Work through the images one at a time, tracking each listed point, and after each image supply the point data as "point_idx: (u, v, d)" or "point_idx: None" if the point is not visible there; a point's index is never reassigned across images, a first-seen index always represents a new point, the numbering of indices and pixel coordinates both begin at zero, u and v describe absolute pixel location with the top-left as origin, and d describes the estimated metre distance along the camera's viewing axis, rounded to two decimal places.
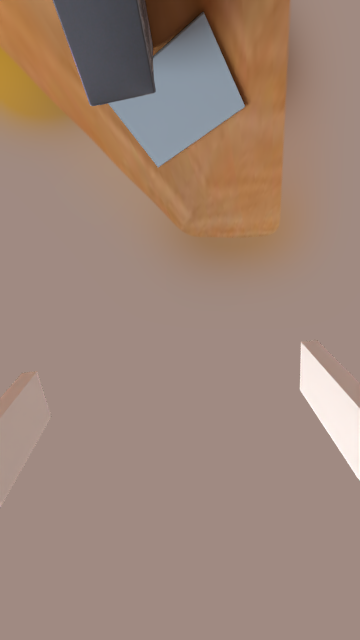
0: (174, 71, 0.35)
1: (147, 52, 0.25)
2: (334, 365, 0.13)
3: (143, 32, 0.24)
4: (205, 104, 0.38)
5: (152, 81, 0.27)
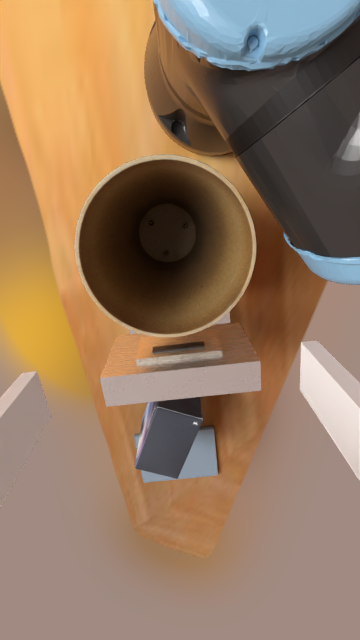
0: None
1: None
2: (334, 365, 0.13)
3: None
4: (194, 464, 0.54)
5: (179, 474, 0.42)
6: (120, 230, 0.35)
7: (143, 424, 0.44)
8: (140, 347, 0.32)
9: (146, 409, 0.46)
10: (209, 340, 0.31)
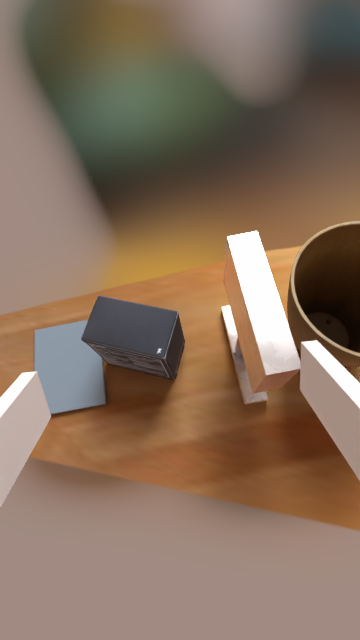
0: (87, 371, 0.45)
1: (103, 344, 0.36)
2: (334, 365, 0.13)
3: (113, 346, 0.36)
4: (54, 385, 0.45)
5: (87, 340, 0.37)
6: (331, 286, 0.42)
7: None
8: None
9: None
10: None
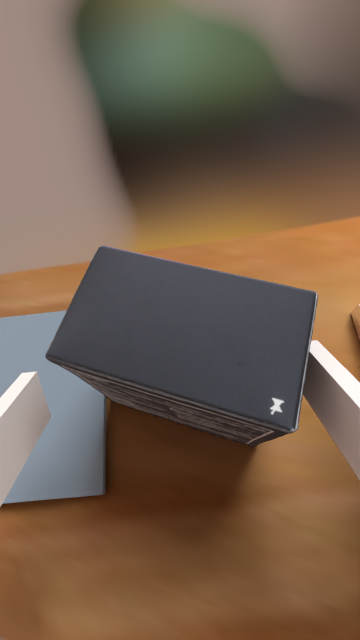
0: (71, 414, 0.22)
1: (107, 375, 0.13)
2: (334, 365, 0.13)
3: (136, 384, 0.12)
4: None
5: (63, 360, 0.13)
6: None
7: None
8: None
9: None
10: None
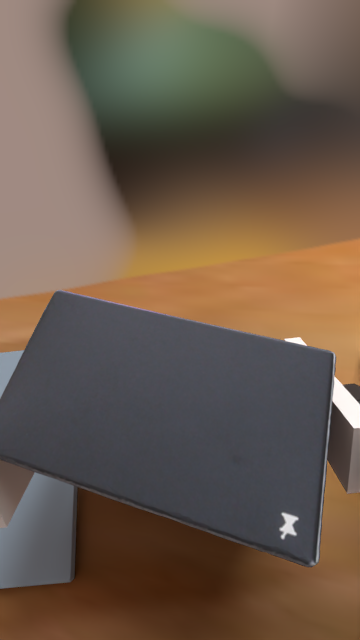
0: (36, 478, 0.18)
1: (57, 477, 0.09)
2: None
3: (95, 490, 0.09)
4: None
5: None
6: None
7: None
8: None
9: None
10: None
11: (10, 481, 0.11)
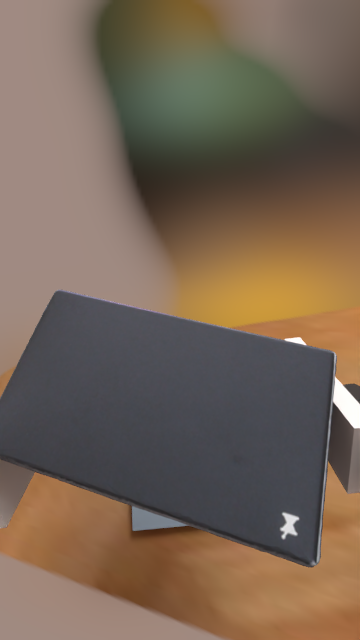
0: None
1: (57, 477, 0.09)
2: None
3: (96, 490, 0.09)
4: None
5: None
6: None
7: None
8: None
9: None
10: None
11: (10, 481, 0.11)
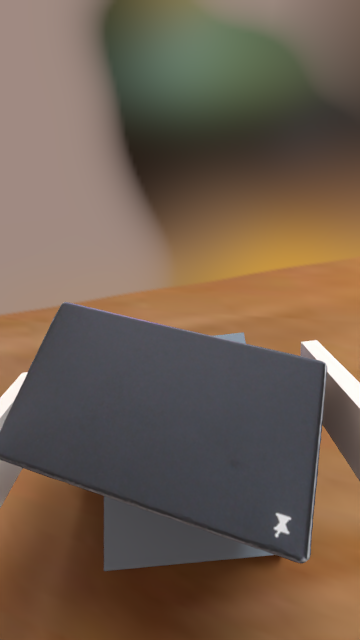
0: None
1: (66, 480, 0.10)
2: (334, 365, 0.13)
3: (103, 493, 0.10)
4: None
5: (12, 460, 0.10)
6: None
7: None
8: None
9: None
10: None
11: None
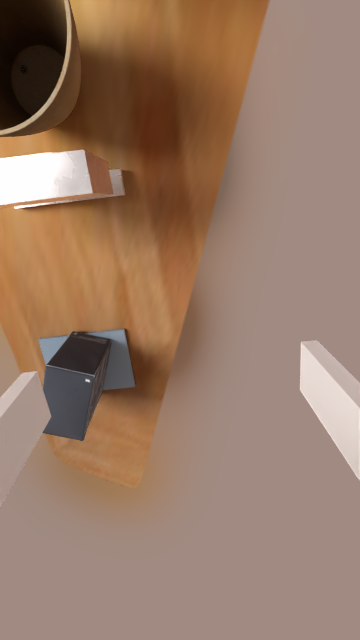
0: None
1: (85, 423, 0.41)
2: (334, 365, 0.13)
3: (87, 416, 0.40)
4: (107, 373, 0.50)
5: (83, 435, 0.41)
6: None
7: None
8: None
9: None
10: None
11: None
